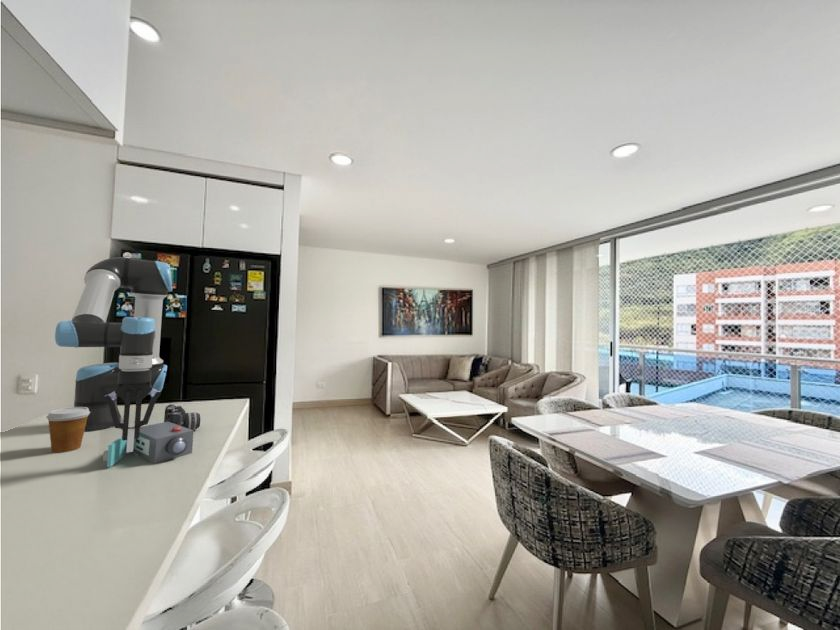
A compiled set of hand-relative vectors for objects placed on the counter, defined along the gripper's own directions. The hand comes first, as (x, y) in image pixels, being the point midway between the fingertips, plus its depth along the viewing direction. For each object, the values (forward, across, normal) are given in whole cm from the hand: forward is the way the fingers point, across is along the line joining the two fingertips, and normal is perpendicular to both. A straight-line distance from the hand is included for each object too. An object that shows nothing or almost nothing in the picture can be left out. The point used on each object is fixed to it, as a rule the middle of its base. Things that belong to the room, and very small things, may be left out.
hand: (129, 450), depth 98 cm
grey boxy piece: (+3, +8, +3) cm, 9 cm away
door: (+3, -3, +3) cm, 5 cm away
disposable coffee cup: (+3, -15, +22) cm, 27 cm away
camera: (+3, +15, +22) cm, 26 cm away
